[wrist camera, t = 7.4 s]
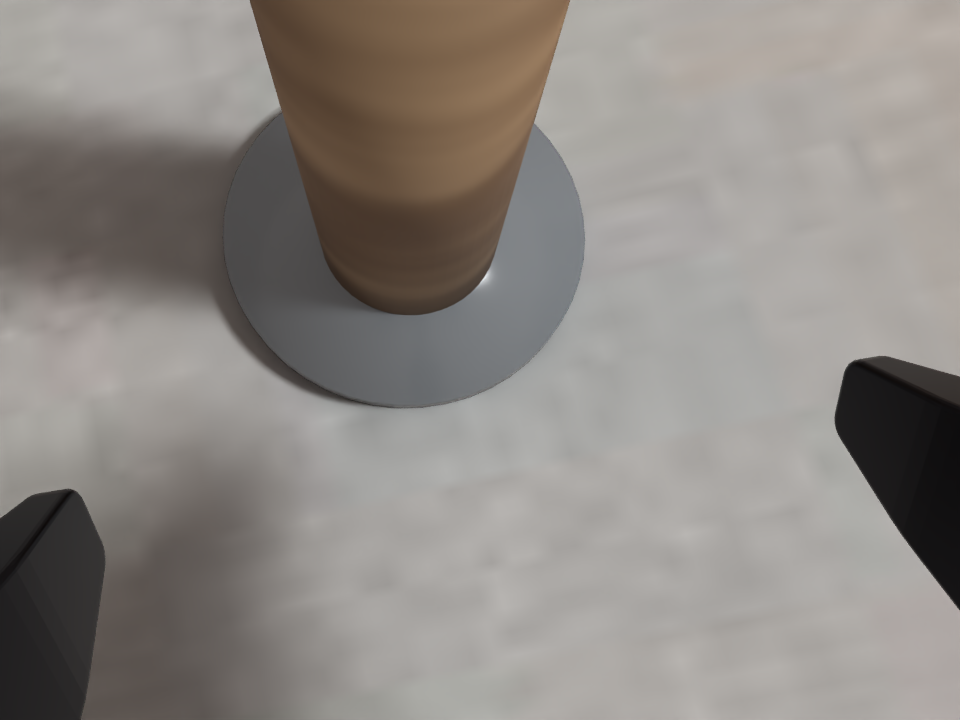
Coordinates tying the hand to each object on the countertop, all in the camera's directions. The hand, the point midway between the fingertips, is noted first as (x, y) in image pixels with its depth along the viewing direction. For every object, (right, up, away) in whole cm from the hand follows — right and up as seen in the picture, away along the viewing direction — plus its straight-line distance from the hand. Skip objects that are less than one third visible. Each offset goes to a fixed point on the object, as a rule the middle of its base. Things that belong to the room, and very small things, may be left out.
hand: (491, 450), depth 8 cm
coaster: (-2, +4, +10) cm, 11 cm away
